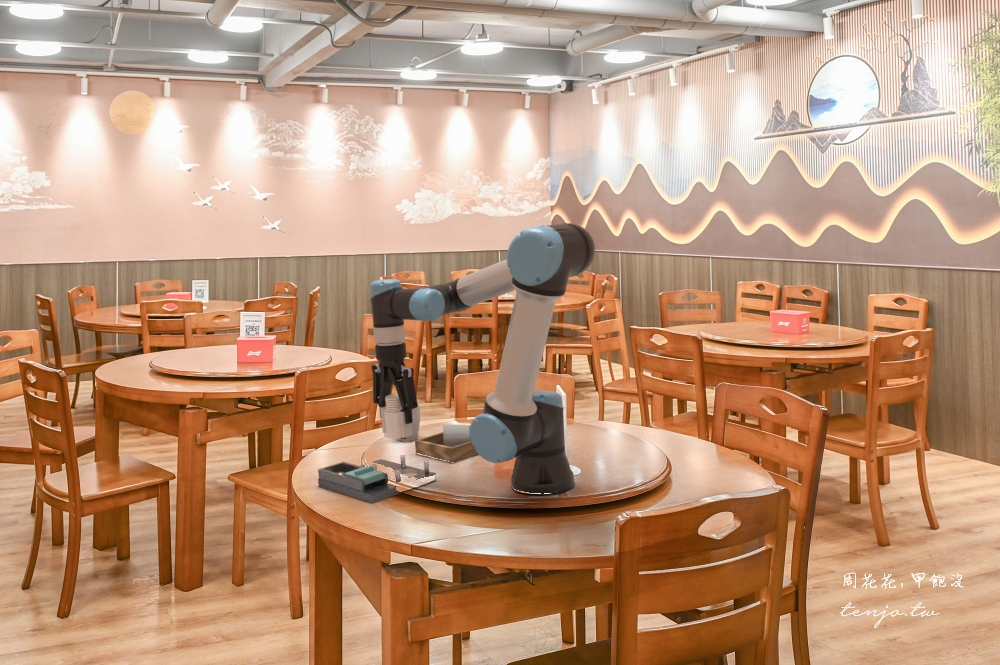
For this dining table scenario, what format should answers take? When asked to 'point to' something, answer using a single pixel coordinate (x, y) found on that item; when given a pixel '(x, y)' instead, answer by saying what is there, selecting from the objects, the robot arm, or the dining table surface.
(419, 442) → the wooden caddy
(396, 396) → the downlight
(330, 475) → the housing board
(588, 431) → the dining table surface
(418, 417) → the cup
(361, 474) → the cover
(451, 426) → the ceramic mug
